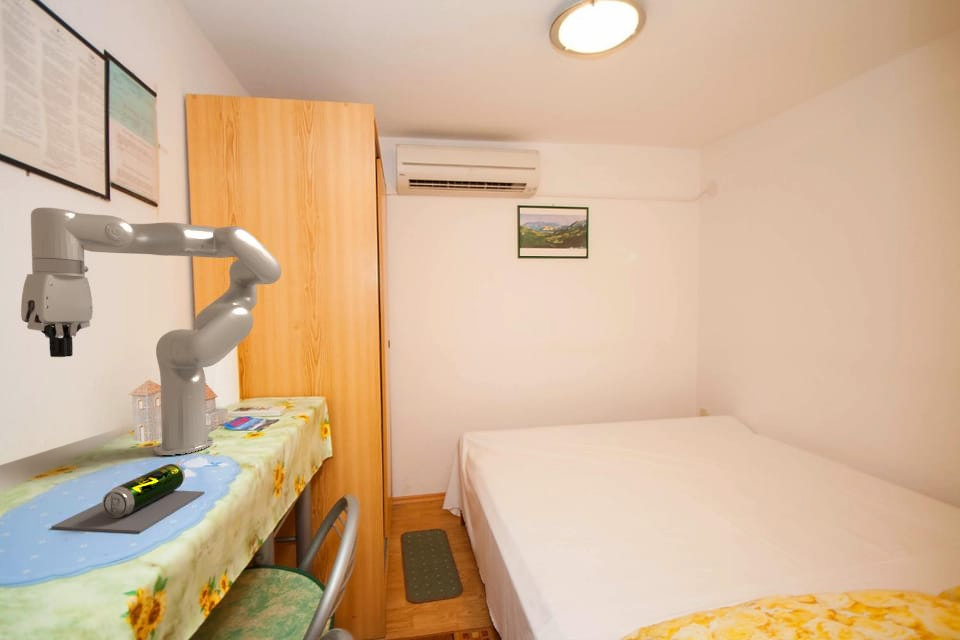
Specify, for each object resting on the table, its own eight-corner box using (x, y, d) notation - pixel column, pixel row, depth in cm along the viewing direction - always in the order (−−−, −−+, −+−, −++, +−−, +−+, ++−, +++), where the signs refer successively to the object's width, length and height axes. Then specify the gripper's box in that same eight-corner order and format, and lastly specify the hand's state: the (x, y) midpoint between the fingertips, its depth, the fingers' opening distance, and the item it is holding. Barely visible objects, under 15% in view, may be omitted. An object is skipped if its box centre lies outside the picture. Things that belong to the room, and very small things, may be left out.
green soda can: (184, 490, 81) (126, 522, 69) (160, 485, 81) (99, 515, 69) (188, 465, 80) (130, 492, 69) (164, 460, 81) (103, 486, 69)
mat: (130, 490, 81) (130, 488, 81) (204, 493, 79) (204, 491, 79) (51, 528, 67) (51, 526, 67) (139, 533, 66) (139, 530, 66)
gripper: (81, 272, 90) (83, 352, 91) (-4, 265, 75) (-1, 361, 76) (111, 272, 90) (113, 352, 90) (32, 265, 75) (35, 361, 75)
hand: (61, 356), depth 83 cm, fingers closed
